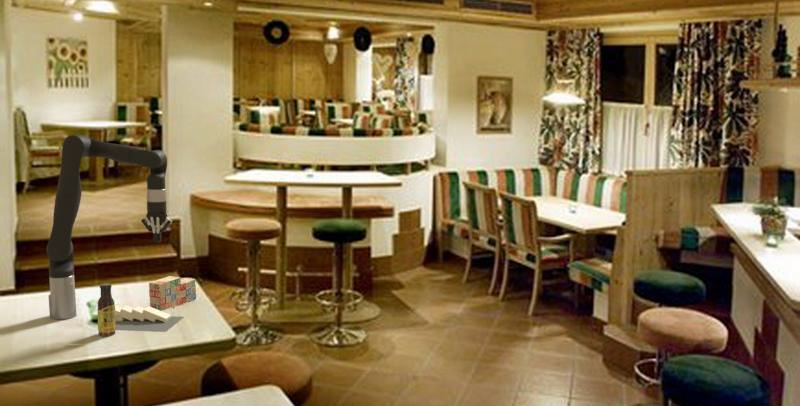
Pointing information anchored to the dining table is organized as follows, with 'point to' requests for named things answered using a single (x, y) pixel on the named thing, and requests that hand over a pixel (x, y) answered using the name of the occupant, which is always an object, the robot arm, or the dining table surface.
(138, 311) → the domino
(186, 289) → the stack of blocks
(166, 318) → the domino
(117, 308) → the domino
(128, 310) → the domino
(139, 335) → the dining table surface
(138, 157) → the robot arm
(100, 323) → the sauce bottle
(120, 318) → the domino
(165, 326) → the mat
